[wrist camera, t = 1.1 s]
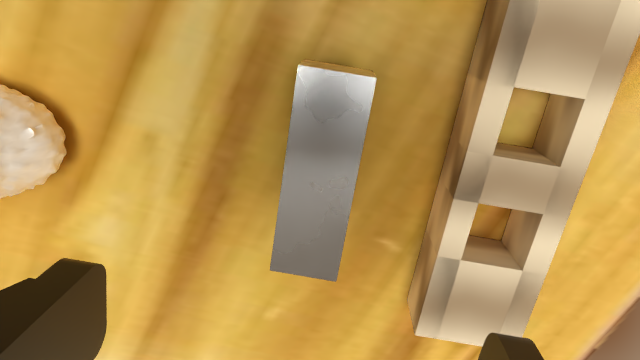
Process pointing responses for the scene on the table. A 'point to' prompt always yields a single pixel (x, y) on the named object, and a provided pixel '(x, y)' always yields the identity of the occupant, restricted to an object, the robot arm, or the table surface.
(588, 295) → the table surface
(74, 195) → the table surface
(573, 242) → the table surface
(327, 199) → the grey notched block
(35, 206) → the table surface
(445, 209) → the rail
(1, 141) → the seated beast figurine
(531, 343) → the robot arm
